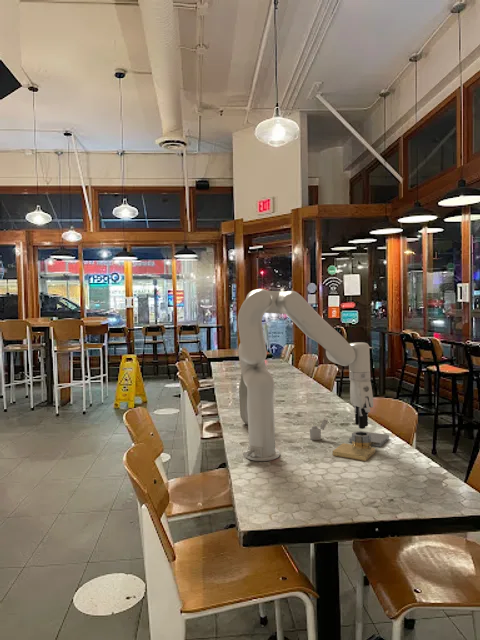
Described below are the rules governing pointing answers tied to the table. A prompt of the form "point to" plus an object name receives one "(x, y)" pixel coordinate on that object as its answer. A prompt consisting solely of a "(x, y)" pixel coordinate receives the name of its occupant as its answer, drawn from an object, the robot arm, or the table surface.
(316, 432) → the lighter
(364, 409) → the dark round-topped peg
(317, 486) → the table surface
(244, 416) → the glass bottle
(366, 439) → the hinge
